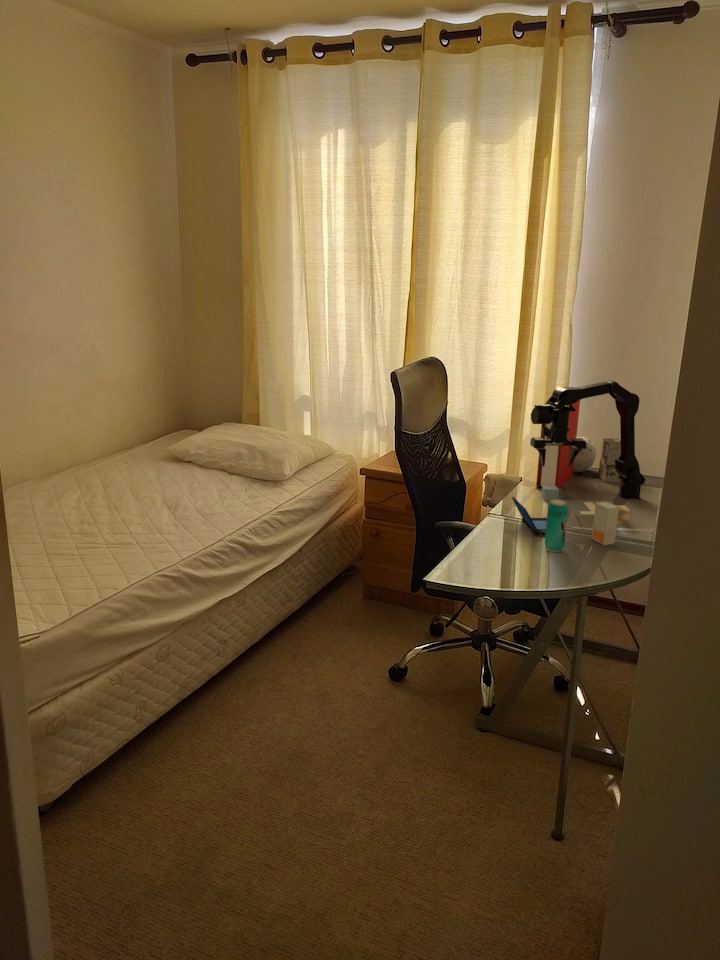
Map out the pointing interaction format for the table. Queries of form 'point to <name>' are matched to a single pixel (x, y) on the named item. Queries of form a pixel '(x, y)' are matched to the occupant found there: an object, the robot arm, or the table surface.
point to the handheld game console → (532, 520)
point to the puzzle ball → (585, 457)
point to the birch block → (623, 514)
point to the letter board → (583, 507)
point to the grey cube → (549, 493)
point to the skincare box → (605, 523)
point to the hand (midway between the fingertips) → (555, 466)
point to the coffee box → (609, 459)
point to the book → (558, 456)
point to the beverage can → (556, 525)
